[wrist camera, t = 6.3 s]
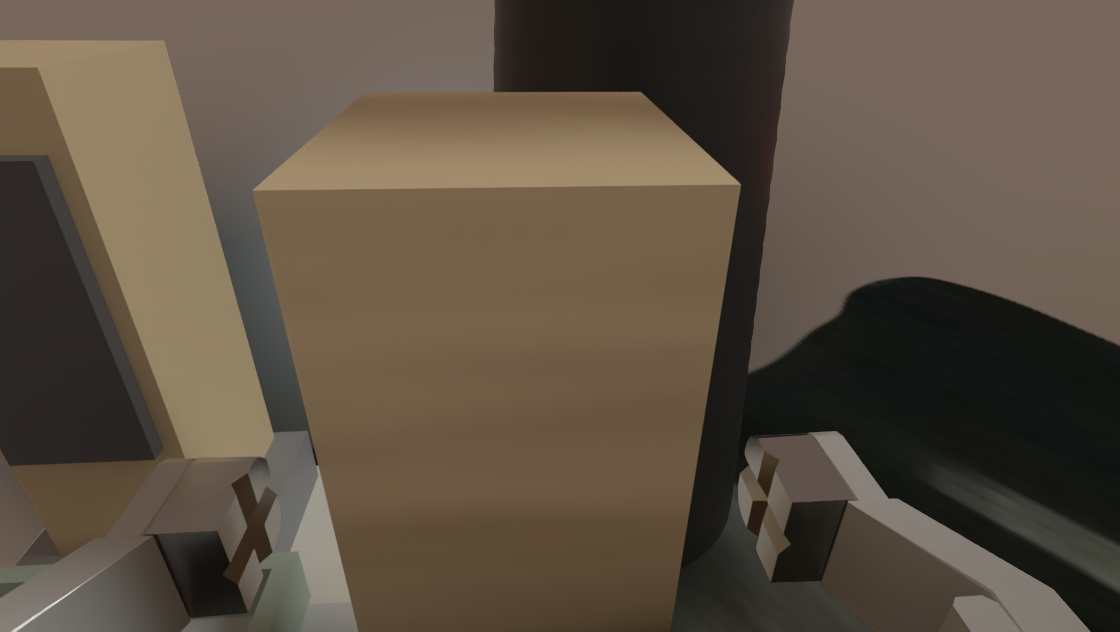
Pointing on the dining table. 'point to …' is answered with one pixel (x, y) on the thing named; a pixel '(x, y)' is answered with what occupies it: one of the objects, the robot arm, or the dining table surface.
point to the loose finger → (504, 350)
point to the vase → (709, 120)
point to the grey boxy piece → (131, 324)
